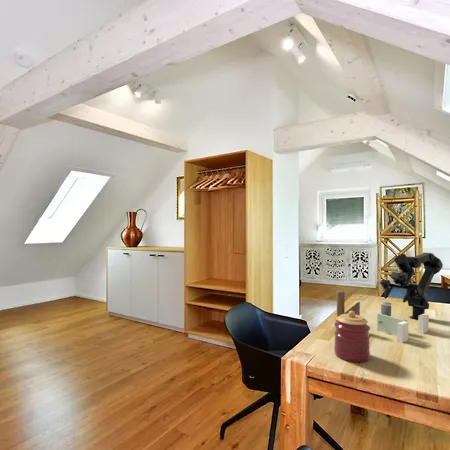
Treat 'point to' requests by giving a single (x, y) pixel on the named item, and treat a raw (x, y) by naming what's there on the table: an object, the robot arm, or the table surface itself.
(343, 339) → the canister
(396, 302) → the table surface
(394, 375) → the table surface
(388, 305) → the post
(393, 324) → the door
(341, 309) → the toy block tower
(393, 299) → the table surface
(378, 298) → the table surface
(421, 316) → the wall frame
